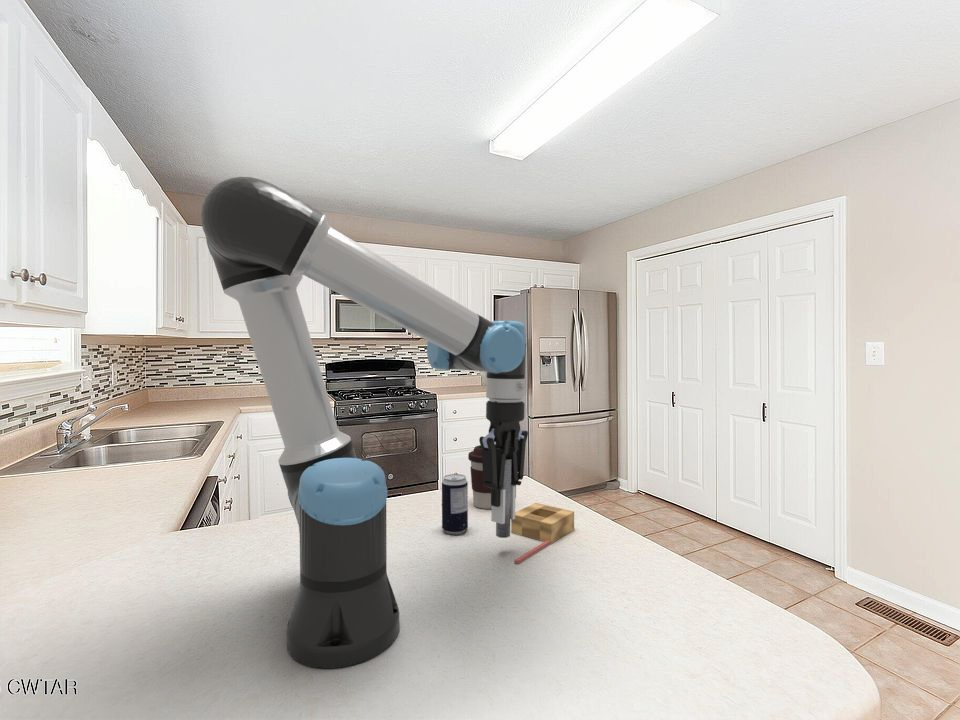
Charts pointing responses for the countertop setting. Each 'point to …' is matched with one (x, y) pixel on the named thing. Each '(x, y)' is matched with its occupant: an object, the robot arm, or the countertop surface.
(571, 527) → the wooden square frame
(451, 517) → the beverage can
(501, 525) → the grey capsule rod
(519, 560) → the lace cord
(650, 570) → the countertop surface
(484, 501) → the coffee cup
